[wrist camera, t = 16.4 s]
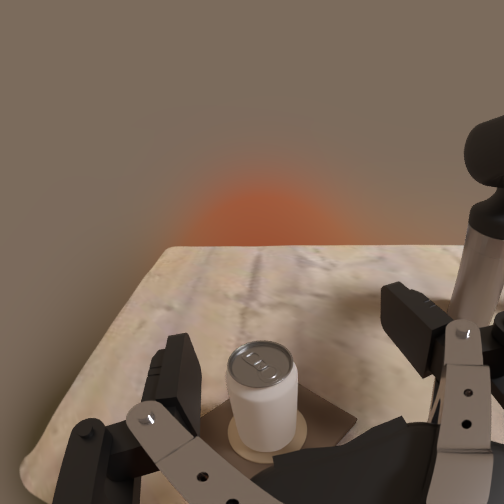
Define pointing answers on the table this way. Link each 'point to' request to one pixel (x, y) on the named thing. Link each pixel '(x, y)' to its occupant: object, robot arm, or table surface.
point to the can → (263, 394)
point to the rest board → (306, 436)
